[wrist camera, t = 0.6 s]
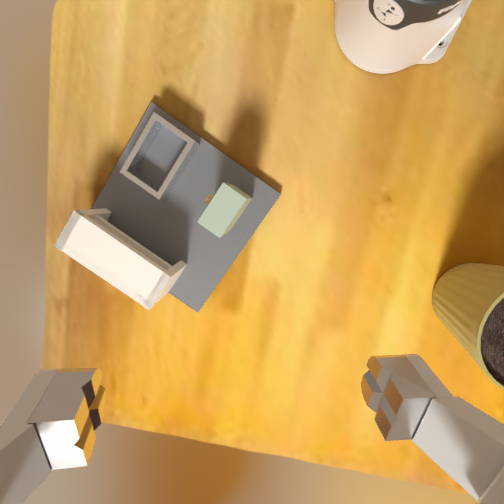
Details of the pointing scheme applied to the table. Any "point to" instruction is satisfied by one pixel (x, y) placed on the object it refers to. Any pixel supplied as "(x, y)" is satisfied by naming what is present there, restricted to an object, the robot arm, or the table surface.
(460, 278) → the potted cactus
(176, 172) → the hollow rectangular frame
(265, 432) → the table surface
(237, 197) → the tall mint green pillar
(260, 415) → the table surface
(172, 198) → the gray base with shelf
